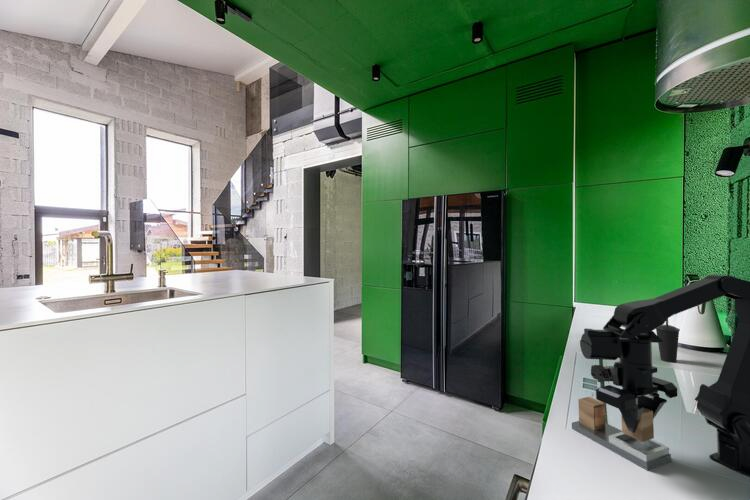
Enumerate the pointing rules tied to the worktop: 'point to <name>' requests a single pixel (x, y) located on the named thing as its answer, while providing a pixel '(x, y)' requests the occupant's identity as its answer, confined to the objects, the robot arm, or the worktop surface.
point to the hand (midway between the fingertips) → (637, 429)
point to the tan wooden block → (642, 427)
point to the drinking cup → (668, 342)
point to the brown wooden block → (592, 413)
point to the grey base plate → (627, 445)
